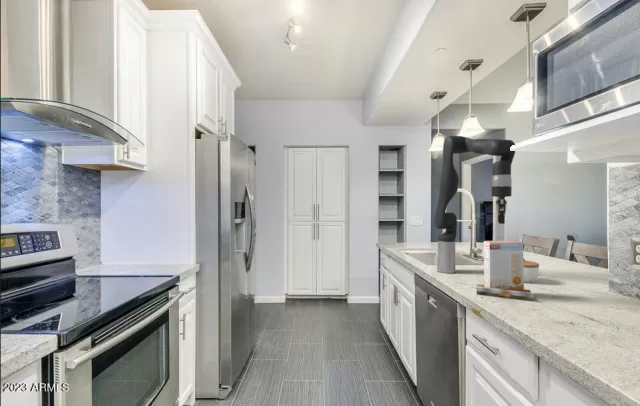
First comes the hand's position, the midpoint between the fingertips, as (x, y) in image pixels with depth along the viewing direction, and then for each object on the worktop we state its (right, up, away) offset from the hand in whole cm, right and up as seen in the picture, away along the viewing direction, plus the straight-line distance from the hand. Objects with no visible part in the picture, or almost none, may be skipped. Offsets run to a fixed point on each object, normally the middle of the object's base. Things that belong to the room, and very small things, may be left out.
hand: (501, 222), depth 134 cm
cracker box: (0, -29, -2) cm, 29 cm away
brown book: (-1, -30, -3) cm, 30 cm away
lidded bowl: (+22, -30, +19) cm, 42 cm away
